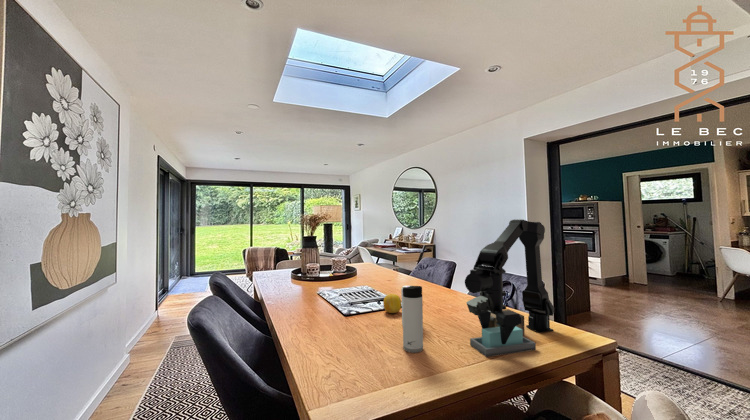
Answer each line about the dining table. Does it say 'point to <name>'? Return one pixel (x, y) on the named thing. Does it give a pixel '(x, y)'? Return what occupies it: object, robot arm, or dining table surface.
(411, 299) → the travel mug
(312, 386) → the dining table surface
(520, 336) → the teal long block
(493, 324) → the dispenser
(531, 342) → the tray
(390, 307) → the fruit
